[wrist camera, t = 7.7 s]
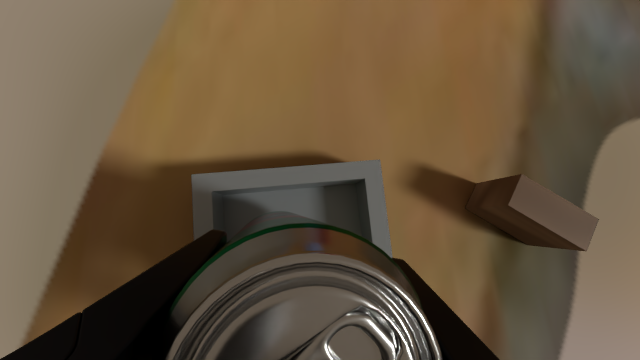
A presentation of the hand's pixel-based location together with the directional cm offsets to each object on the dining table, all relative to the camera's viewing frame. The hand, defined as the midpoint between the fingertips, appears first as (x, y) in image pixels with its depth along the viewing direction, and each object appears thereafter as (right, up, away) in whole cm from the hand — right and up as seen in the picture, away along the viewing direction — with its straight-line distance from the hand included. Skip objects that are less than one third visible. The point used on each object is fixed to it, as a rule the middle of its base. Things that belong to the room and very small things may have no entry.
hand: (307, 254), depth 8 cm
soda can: (-2, -2, +8) cm, 8 cm away
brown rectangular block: (+13, 0, +11) cm, 17 cm away
